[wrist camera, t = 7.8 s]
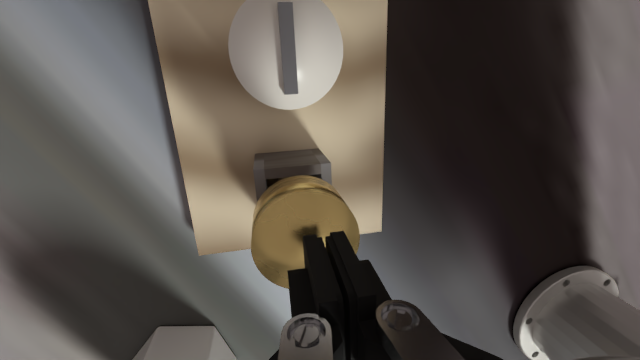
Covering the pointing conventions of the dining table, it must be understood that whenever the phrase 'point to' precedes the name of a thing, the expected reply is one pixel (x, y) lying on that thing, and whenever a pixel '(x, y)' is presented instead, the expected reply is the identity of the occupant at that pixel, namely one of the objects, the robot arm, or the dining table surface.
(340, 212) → the knob
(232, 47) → the dial
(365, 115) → the mount board
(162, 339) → the jar
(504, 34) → the dining table surface
